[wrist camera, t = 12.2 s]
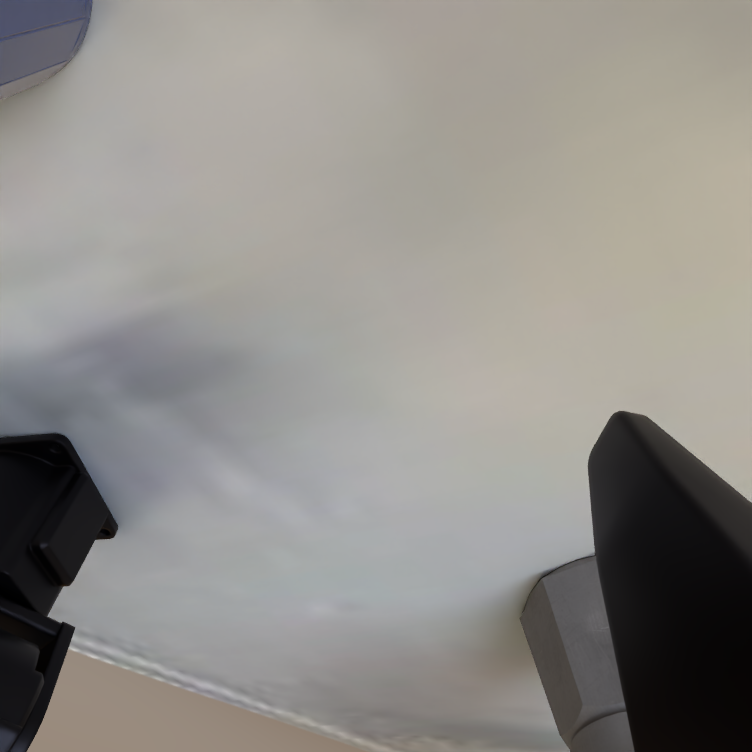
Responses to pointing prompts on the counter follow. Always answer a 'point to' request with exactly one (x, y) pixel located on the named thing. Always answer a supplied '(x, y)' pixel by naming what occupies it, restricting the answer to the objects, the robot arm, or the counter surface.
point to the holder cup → (38, 40)
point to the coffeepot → (577, 658)
